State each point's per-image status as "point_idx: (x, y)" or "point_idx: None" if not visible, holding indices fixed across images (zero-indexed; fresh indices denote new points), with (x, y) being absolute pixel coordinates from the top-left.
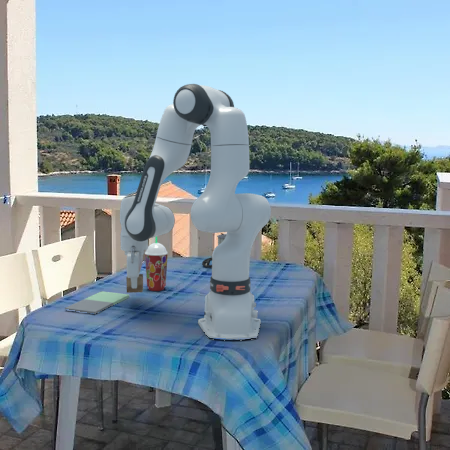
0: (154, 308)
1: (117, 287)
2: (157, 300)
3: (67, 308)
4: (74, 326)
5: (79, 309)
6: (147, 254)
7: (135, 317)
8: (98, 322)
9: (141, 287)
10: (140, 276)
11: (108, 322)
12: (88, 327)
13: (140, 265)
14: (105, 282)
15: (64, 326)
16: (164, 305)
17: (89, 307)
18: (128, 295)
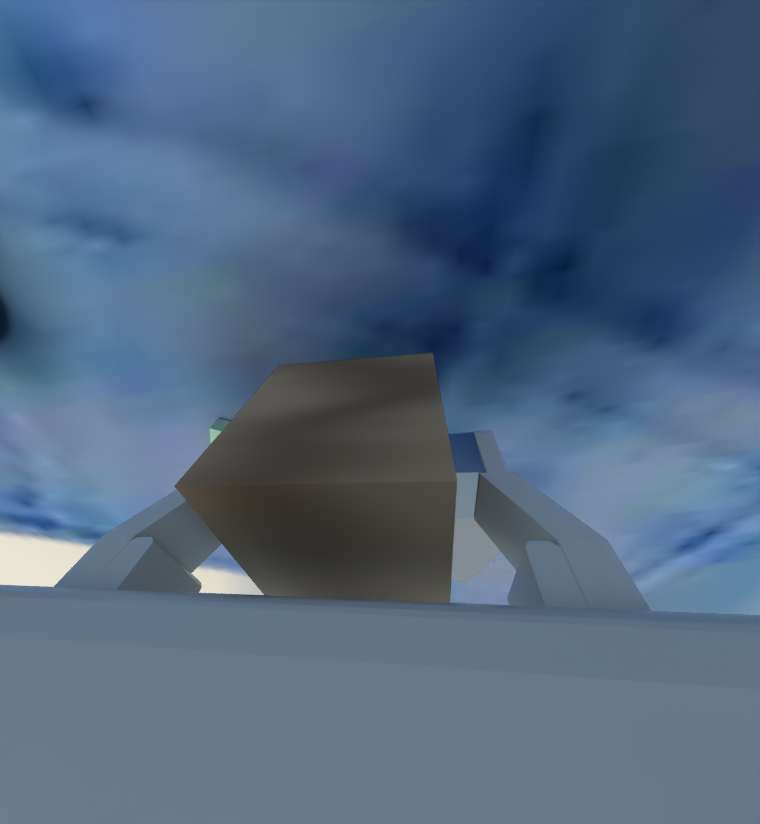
0: (440, 198)
1: (89, 484)
2: (203, 213)
3: (471, 577)
4: (673, 534)
5: (492, 554)
6: None
7: (652, 318)
8: (659, 477)
9: (436, 385)
10: (391, 504)
11: (684, 443)
12: (719, 498)
13: (143, 813)
14: (58, 526)
15: (655, 554)
16: (336, 93)
17: (466, 534)
18: (222, 428)
